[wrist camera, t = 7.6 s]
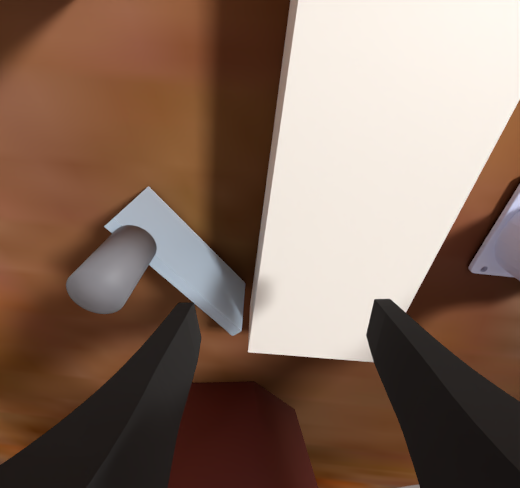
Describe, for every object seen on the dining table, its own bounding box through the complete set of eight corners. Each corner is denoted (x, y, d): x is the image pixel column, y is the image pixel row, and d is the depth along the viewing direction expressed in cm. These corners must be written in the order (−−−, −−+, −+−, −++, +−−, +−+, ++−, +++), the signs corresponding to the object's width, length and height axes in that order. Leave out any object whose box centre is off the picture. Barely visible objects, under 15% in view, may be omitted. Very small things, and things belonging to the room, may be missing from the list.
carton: (512, -56, 13) (639, -127, 8) (358, 314, 25) (379, 362, 21) (302, -92, 12) (325, -188, 8) (250, 304, 24) (247, 352, 20)
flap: (156, 179, 18) (77, 251, 10) (252, 278, 22) (248, 383, 15) (133, 199, 19) (43, 281, 11) (230, 292, 23) (215, 398, 15)
